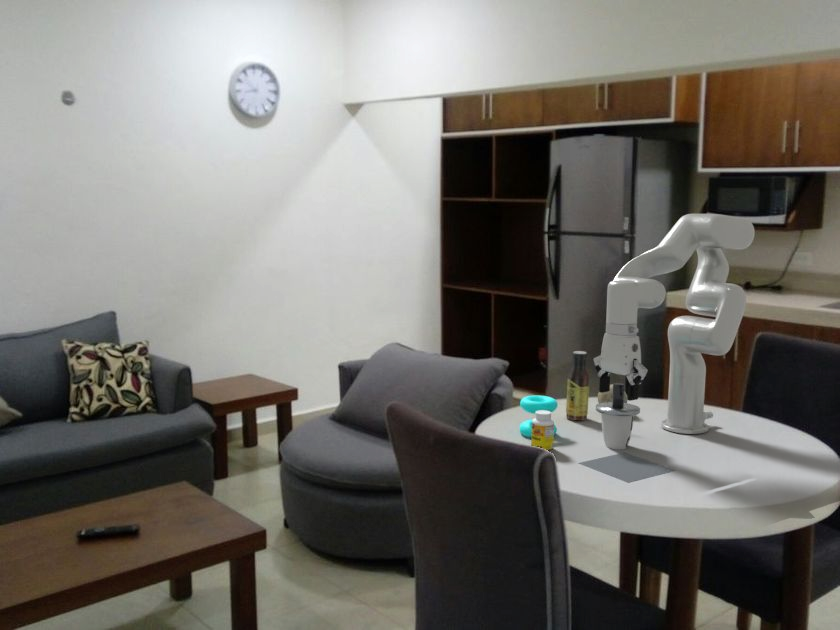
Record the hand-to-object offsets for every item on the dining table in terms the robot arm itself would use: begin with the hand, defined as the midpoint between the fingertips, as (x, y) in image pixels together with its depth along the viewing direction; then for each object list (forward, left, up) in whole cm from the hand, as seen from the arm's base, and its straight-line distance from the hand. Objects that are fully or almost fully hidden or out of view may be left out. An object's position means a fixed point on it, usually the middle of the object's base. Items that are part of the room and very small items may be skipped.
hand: (618, 395), depth 209 cm
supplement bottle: (+18, -8, -14) cm, 24 cm away
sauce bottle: (-11, -26, -14) cm, 32 cm away
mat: (+10, +13, -14) cm, 21 cm away
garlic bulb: (-25, -26, -14) cm, 39 cm away
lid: (0, 0, -4) cm, 4 cm away
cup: (0, 0, -14) cm, 14 cm away
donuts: (+9, -20, -14) cm, 26 cm away
